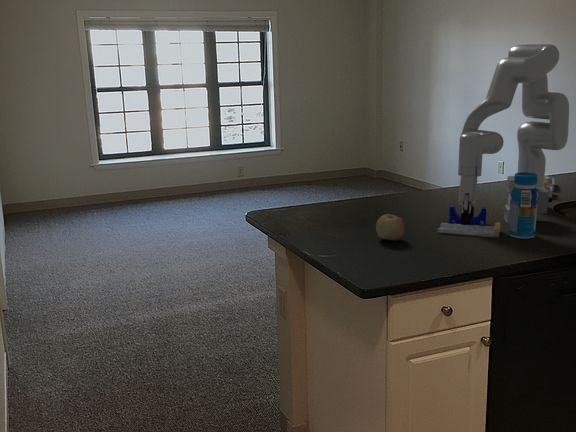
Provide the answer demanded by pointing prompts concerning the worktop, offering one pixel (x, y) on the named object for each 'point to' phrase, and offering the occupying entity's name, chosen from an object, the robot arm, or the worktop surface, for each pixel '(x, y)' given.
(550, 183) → the cup tray
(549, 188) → the clamp tray
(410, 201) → the worktop surface
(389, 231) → the apple
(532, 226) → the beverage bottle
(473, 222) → the blue plastic bracket
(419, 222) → the worktop surface
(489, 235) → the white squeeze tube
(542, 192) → the circuit breaker
